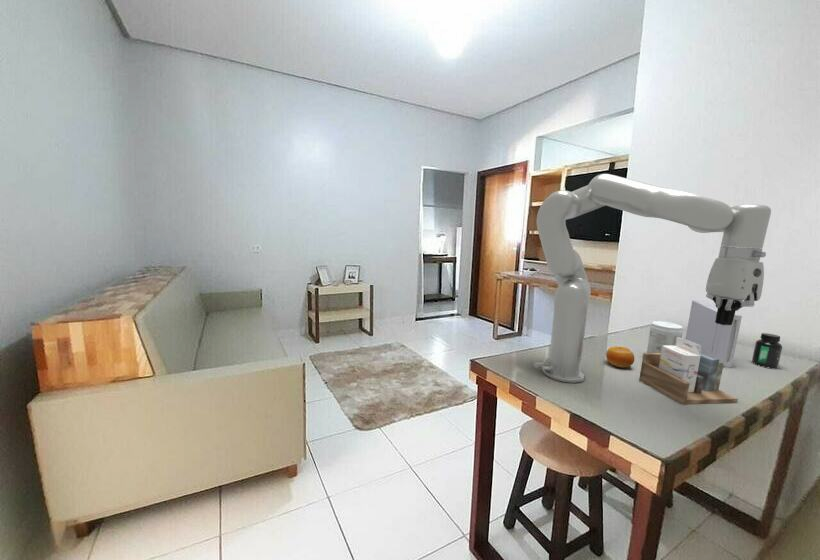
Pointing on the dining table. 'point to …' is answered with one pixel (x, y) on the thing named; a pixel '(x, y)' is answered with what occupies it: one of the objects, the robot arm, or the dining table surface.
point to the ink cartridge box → (681, 361)
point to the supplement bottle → (767, 351)
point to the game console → (712, 332)
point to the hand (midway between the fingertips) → (723, 324)
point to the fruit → (620, 356)
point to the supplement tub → (663, 335)
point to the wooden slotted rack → (678, 388)
